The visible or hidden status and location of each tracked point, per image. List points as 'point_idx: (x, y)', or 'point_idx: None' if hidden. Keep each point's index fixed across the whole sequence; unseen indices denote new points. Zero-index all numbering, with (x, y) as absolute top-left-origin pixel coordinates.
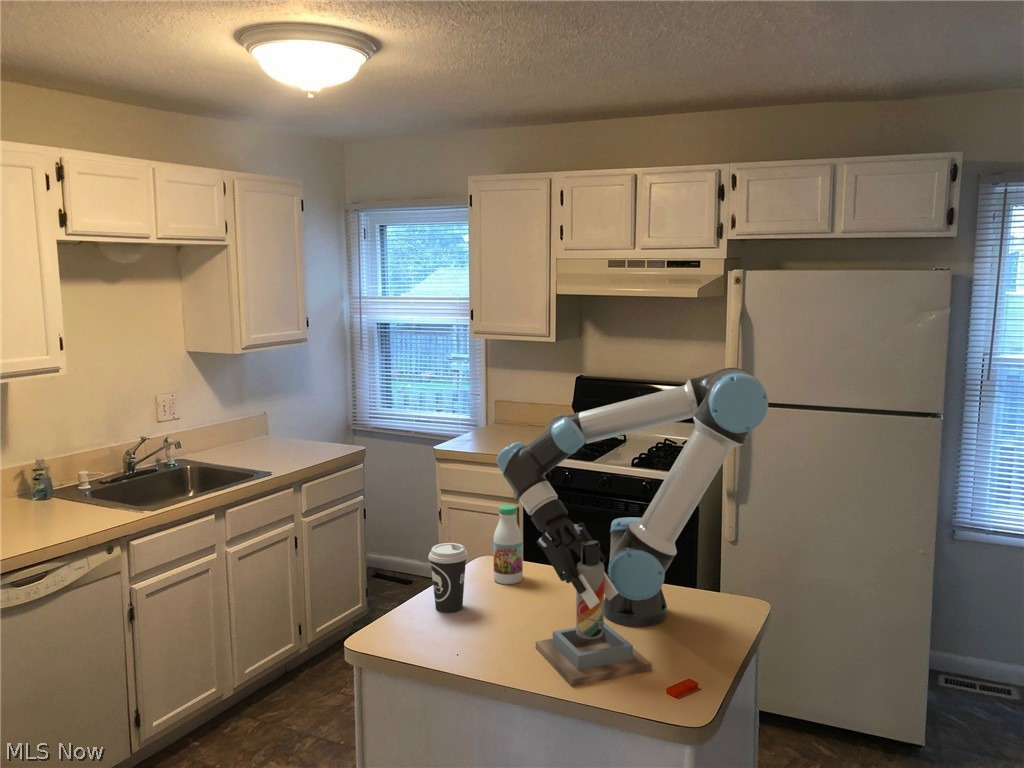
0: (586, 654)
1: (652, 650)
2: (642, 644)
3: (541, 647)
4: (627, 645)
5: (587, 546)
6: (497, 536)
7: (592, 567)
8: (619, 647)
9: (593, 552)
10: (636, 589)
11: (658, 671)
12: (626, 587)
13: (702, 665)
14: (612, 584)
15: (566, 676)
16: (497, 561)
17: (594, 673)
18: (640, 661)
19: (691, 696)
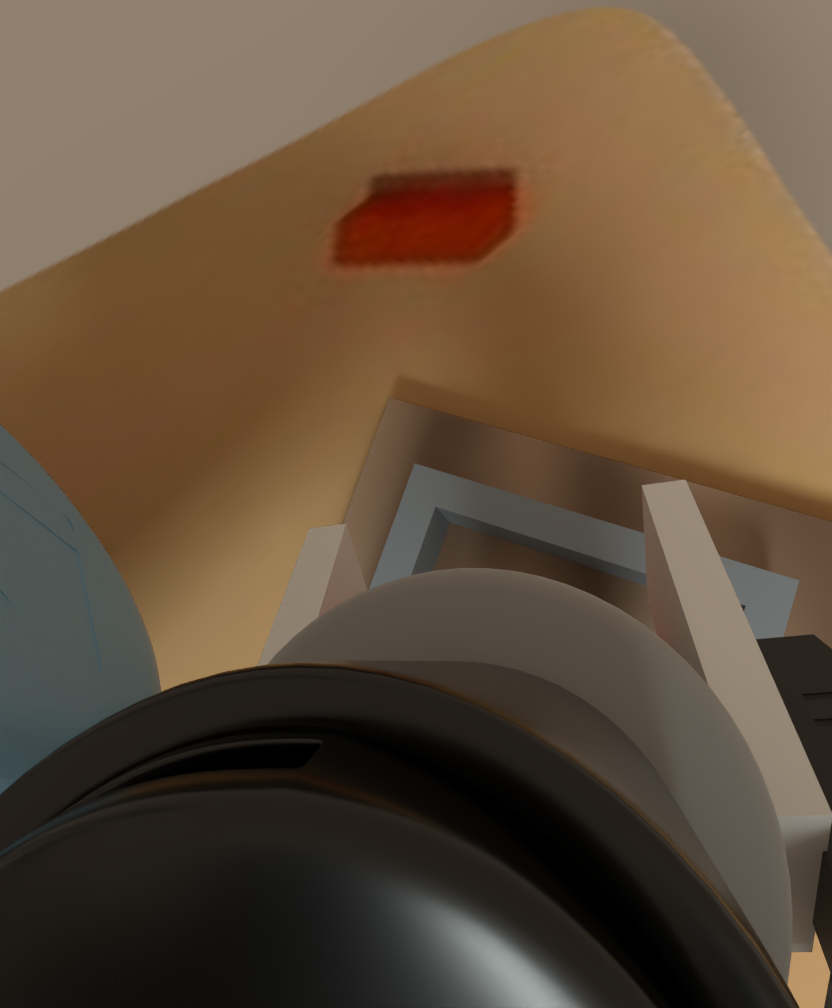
0: (733, 562)
1: (231, 548)
2: (212, 627)
3: None
4: (434, 486)
5: None
6: None
7: (607, 667)
8: (492, 497)
9: (553, 705)
10: (71, 548)
11: (382, 384)
12: (109, 621)
13: (198, 309)
14: (290, 596)
15: None
16: None
17: (716, 503)
18: (416, 444)
19: (454, 156)
